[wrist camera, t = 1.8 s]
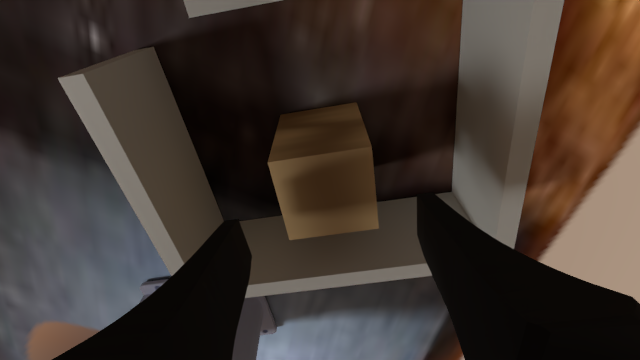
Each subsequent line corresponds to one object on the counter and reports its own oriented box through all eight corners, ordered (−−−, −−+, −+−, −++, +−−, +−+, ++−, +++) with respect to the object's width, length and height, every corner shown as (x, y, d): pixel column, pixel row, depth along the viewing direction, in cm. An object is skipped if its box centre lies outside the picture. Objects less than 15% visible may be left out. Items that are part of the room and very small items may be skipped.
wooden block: (296, 178, 21) (289, 240, 16) (280, 114, 19) (267, 162, 14) (363, 168, 21) (378, 228, 16) (356, 102, 19) (371, 146, 14)
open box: (216, 235, 24) (188, 304, 19) (135, 50, 17) (57, 78, 12) (465, 201, 22) (510, 266, 17) (484, -15, 16) (567, -14, 11)
